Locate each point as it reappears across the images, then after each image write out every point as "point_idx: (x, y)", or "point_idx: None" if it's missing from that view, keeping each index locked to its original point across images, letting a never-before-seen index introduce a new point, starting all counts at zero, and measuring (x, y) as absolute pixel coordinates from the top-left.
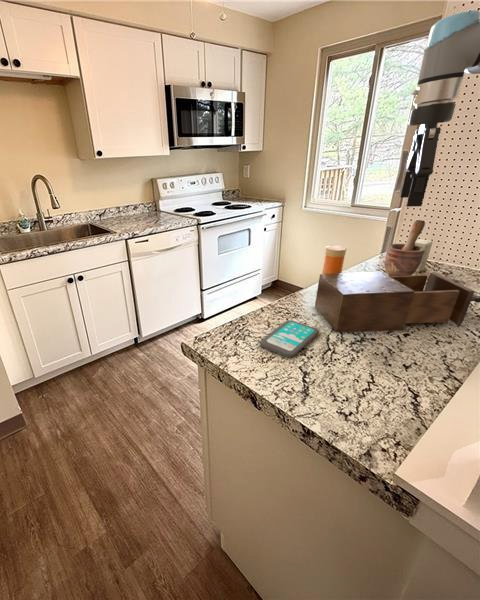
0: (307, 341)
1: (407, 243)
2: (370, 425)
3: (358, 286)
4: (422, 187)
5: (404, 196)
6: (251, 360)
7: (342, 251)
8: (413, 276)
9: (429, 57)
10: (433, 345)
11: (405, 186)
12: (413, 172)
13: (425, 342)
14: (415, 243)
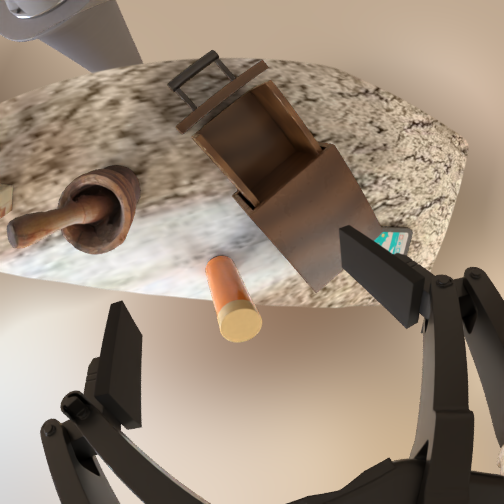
0: (387, 228)
1: (75, 220)
2: (449, 152)
3: (348, 224)
4: (411, 263)
5: (136, 328)
6: (420, 253)
7: (253, 308)
8: (221, 157)
9: None
10: (321, 103)
11: (136, 363)
12: (123, 405)
13: (318, 112)
14: None
